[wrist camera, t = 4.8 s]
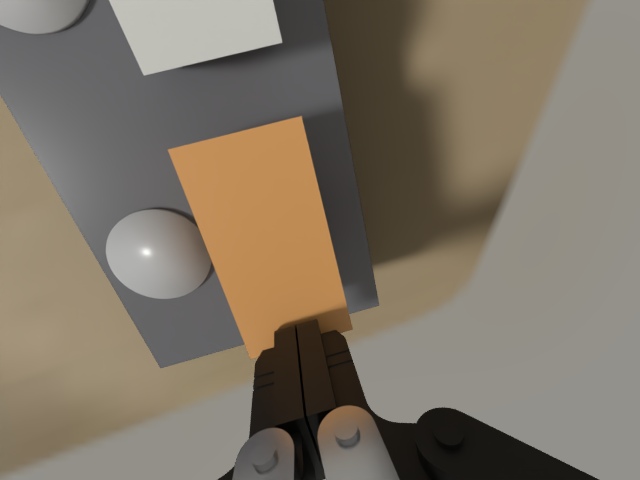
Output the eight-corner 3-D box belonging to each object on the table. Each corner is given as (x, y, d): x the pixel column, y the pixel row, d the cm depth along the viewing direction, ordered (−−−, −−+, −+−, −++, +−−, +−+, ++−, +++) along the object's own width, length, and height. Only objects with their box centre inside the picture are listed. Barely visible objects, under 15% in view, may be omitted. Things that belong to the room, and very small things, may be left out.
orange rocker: (184, 147, 10) (167, 149, 8) (297, 118, 10) (301, 116, 8) (253, 330, 12) (250, 359, 10) (342, 305, 12) (352, 329, 11)
